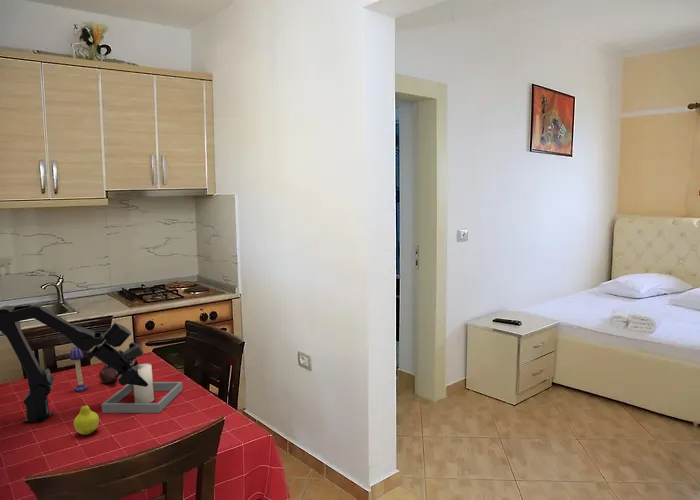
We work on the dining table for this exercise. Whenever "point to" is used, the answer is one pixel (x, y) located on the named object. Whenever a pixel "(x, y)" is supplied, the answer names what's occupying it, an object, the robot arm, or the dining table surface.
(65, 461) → the dining table surface
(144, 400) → the white pillar candle
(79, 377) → the toy lamp
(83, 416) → the fruit
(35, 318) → the robot arm
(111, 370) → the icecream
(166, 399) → the frame
